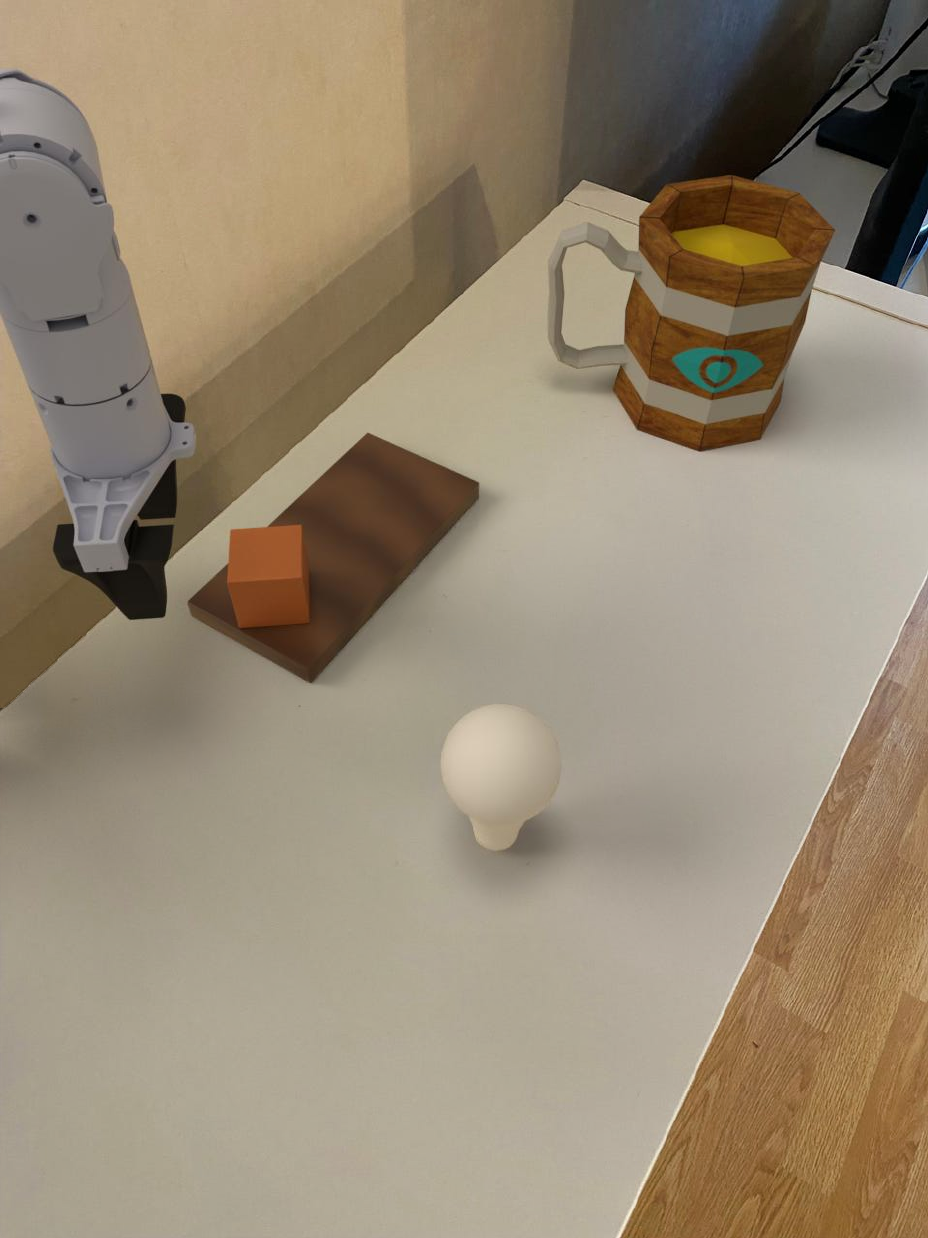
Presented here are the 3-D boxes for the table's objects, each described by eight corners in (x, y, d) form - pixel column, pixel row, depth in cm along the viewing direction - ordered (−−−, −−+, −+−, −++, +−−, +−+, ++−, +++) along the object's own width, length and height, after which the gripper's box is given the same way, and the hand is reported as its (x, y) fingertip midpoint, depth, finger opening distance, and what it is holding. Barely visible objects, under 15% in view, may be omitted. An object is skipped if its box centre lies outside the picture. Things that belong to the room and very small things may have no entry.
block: (239, 628, 65) (227, 582, 61) (241, 576, 68) (230, 528, 64) (310, 623, 65) (302, 577, 62) (309, 571, 68) (301, 524, 64)
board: (310, 683, 64) (308, 669, 63) (191, 616, 67) (186, 601, 66) (479, 497, 75) (479, 482, 74) (368, 447, 78) (367, 431, 77)
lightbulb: (488, 909, 55) (495, 811, 46) (419, 829, 58) (414, 723, 49) (571, 844, 57) (593, 739, 49) (501, 770, 60) (510, 659, 52)
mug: (773, 351, 86) (824, 180, 74) (788, 458, 78) (848, 285, 66) (542, 334, 87) (556, 163, 76) (532, 437, 79) (546, 264, 67)
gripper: (163, 467, 43) (217, 658, 54) (185, 276, 52) (228, 471, 63) (-7, 477, 43) (81, 668, 53) (45, 282, 52) (112, 478, 62)
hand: (153, 562), depth 58 cm, fingers open, 7 cm apart
